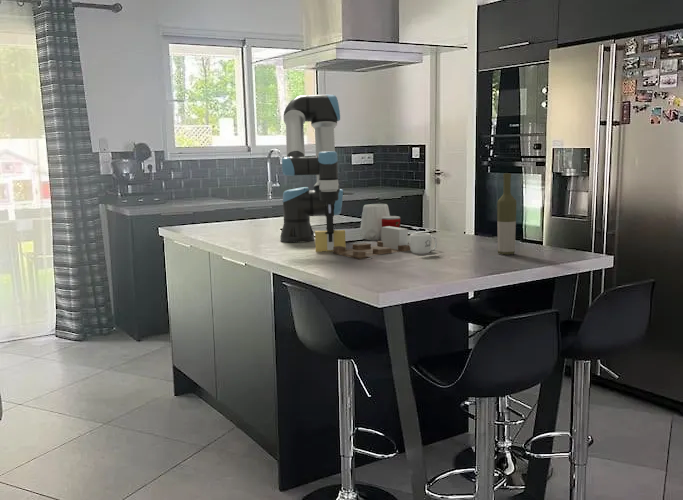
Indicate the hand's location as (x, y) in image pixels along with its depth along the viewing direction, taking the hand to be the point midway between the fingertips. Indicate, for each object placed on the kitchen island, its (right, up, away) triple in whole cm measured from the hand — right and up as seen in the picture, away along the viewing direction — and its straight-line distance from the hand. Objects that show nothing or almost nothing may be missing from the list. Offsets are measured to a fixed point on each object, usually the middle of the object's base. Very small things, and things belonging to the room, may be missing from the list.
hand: (330, 248), depth 276 cm
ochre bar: (0, -1, 0) cm, 1 cm away
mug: (+36, -2, -14) cm, 39 cm away
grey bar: (+25, 0, -3) cm, 26 cm away
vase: (+20, +4, +30) cm, 36 cm away
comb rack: (+16, -2, -9) cm, 18 cm away
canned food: (+26, +2, +17) cm, 31 cm away
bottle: (+66, -2, -20) cm, 69 cm away
